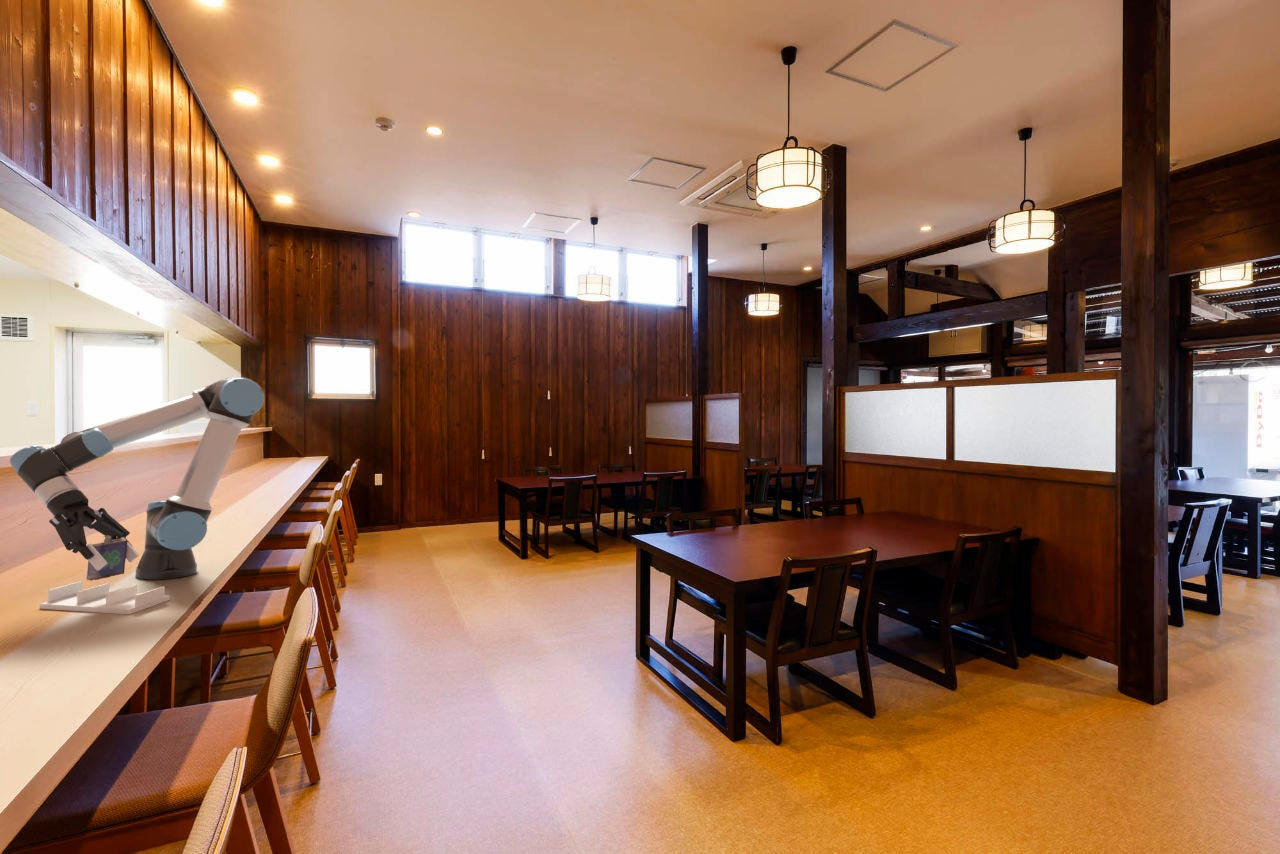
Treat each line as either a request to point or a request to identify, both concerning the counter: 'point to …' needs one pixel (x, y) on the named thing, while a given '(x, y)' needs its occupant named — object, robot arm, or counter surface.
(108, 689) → the counter surface
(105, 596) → the rack
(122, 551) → the flask
